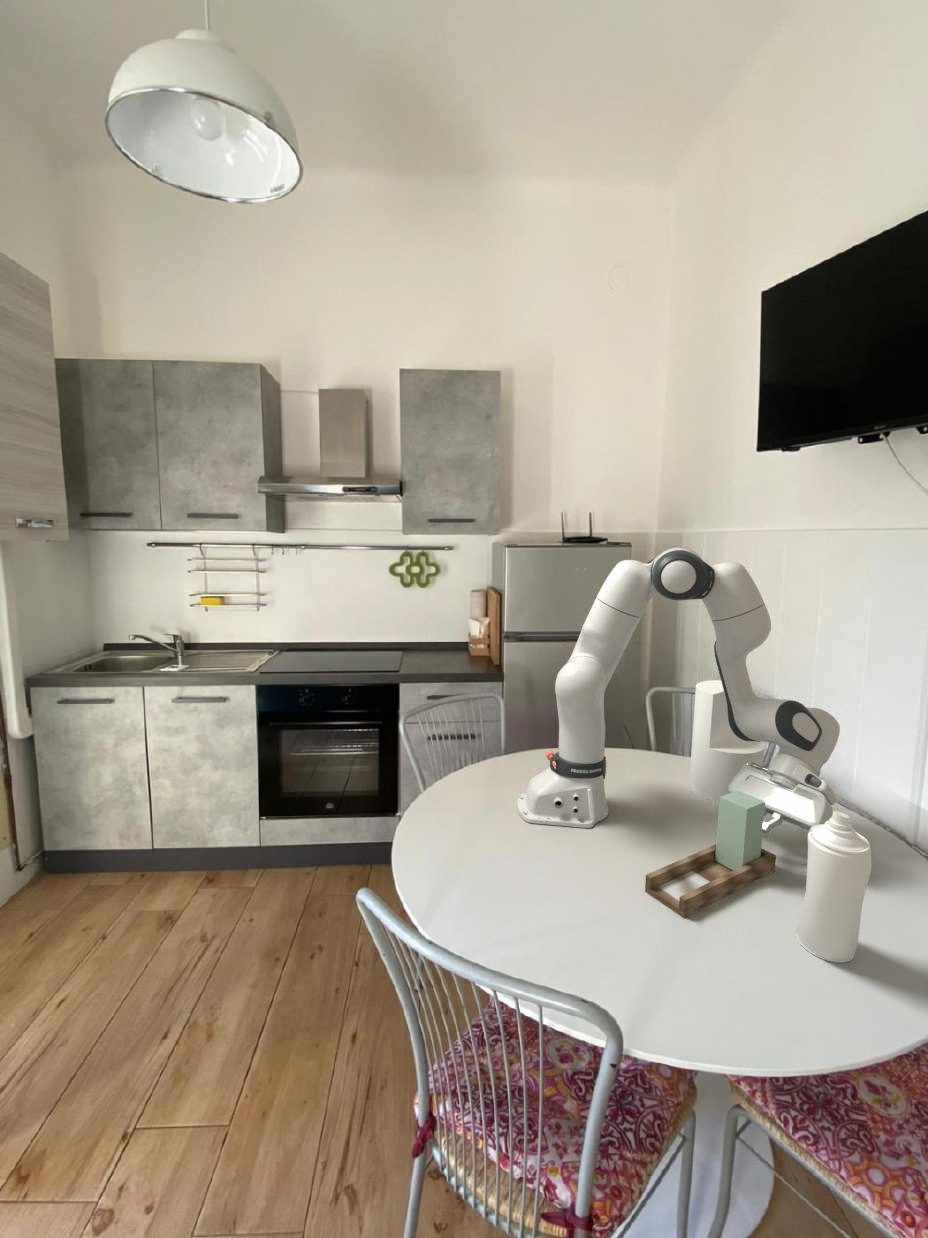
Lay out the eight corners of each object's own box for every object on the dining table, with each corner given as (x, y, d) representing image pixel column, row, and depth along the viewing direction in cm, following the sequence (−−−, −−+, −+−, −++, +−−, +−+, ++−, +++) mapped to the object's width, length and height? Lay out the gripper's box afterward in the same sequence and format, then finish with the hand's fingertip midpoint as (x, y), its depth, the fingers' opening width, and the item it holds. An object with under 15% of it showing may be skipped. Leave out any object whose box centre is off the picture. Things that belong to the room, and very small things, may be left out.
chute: (734, 850, 126) (735, 835, 126) (774, 871, 119) (776, 855, 118) (644, 891, 112) (645, 875, 112) (683, 918, 105) (685, 900, 104)
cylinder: (676, 787, 157) (682, 686, 153) (711, 771, 167) (718, 677, 163) (738, 812, 143) (747, 702, 139) (772, 793, 154) (781, 691, 149)
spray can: (884, 970, 92) (903, 824, 88) (827, 981, 90) (844, 831, 86) (825, 922, 103) (839, 790, 100) (773, 931, 101) (786, 796, 97)
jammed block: (732, 852, 123) (737, 790, 121) (759, 866, 118) (765, 801, 116) (714, 860, 120) (719, 797, 118) (741, 875, 115) (747, 809, 113)
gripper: (741, 753, 133) (711, 803, 130) (835, 787, 116) (803, 846, 112) (751, 767, 136) (722, 816, 133) (845, 802, 119) (814, 860, 115)
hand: (760, 830), depth 122 cm, fingers closed
